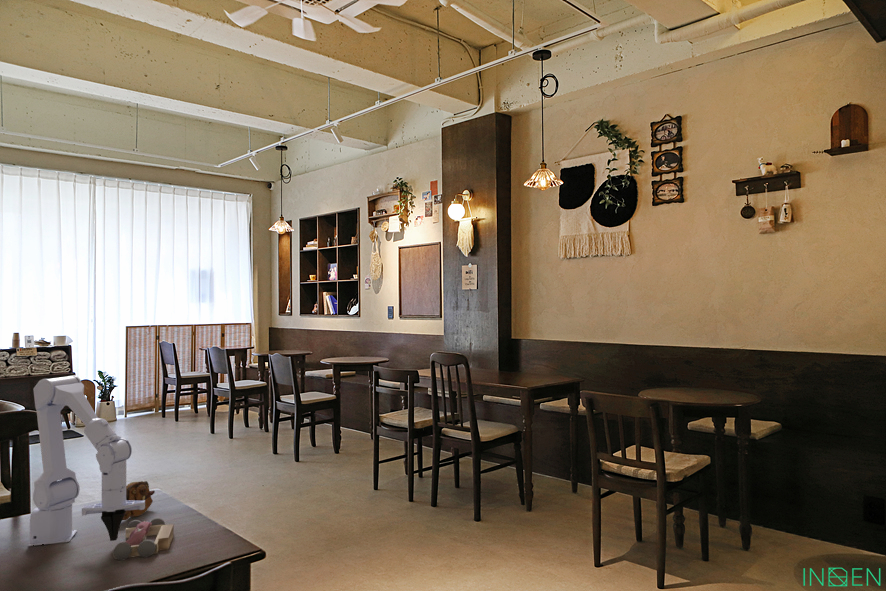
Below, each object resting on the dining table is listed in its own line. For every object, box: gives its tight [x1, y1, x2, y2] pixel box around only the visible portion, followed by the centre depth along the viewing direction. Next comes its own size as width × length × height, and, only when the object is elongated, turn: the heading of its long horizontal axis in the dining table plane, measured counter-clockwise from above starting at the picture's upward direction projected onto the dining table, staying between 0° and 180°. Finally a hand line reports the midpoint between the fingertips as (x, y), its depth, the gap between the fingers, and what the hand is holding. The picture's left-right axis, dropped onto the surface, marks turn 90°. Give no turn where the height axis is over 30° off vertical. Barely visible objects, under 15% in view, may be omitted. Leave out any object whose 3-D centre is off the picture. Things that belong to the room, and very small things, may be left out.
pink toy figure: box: [125, 520, 152, 546], centre depth 161 cm, size 10×5×7 cm, turn 13°
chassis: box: [112, 517, 175, 561], centre depth 161 cm, size 12×18×4 cm
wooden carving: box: [122, 480, 156, 521], centre depth 183 cm, size 16×5×10 cm, turn 178°
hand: (113, 539), depth 159 cm, fingers closed
